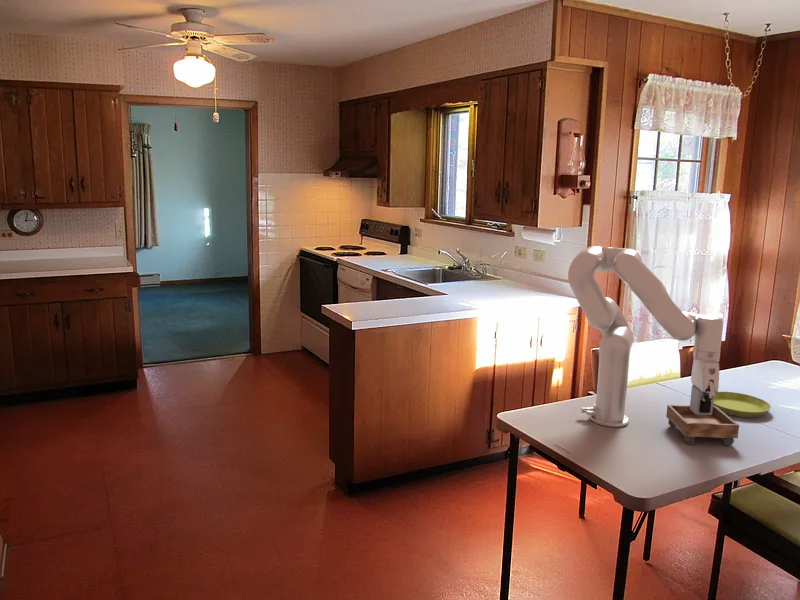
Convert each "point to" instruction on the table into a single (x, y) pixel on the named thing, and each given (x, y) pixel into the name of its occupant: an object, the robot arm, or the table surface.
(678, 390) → the table surface
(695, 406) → the block
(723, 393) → the saucer
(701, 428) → the cart
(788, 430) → the table surface
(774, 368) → the table surface
